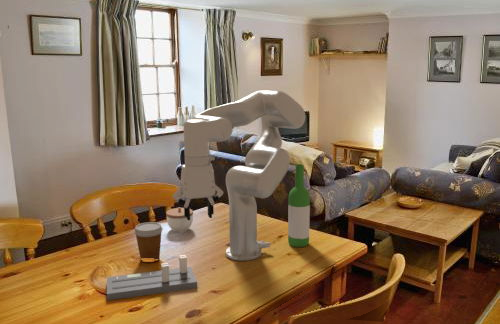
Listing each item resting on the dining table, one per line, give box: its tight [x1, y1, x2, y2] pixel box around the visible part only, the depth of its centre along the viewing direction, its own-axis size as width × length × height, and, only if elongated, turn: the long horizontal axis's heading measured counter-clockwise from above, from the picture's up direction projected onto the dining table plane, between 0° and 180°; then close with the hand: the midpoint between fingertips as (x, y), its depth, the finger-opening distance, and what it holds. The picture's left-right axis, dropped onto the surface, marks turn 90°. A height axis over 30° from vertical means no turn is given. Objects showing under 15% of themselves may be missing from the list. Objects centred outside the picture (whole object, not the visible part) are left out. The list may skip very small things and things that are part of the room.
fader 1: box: [160, 262, 170, 282], centre depth 141 cm, size 2×2×5 cm
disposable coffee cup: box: [133, 221, 164, 260], centre depth 161 cm, size 10×10×12 cm
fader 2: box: [178, 254, 188, 273], centre depth 147 cm, size 2×2×5 cm
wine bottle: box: [287, 164, 311, 248], centre depth 172 cm, size 8×8×30 cm
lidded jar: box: [165, 207, 194, 233], centre depth 190 cm, size 11×11×9 cm
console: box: [106, 266, 198, 301], centre depth 143 cm, size 26×11×2 cm, turn 106°
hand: (199, 217), depth 146 cm, fingers open, 6 cm apart
